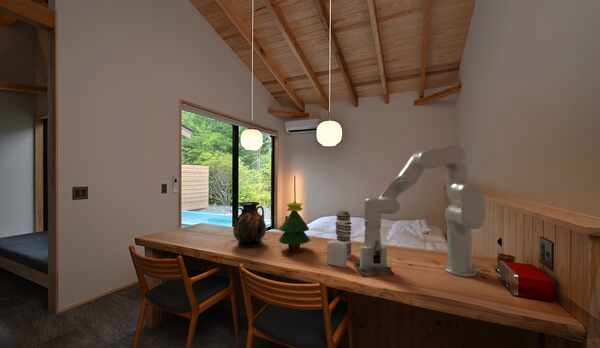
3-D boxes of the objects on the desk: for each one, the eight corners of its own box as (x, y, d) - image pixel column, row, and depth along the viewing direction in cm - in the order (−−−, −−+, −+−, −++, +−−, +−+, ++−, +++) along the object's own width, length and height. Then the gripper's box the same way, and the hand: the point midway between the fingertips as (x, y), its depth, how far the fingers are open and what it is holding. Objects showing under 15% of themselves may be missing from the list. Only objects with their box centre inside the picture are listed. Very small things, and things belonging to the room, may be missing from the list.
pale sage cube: (384, 266, 113) (384, 245, 113) (386, 268, 110) (386, 247, 110) (360, 266, 112) (359, 246, 112) (361, 269, 109) (361, 248, 109)
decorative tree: (274, 254, 134) (274, 202, 134) (283, 244, 153) (282, 199, 153) (307, 256, 131) (307, 203, 131) (311, 245, 150) (311, 199, 150)
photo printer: (347, 265, 117) (347, 241, 117) (345, 268, 114) (344, 243, 114) (329, 261, 123) (328, 238, 123) (325, 264, 119) (325, 240, 119)
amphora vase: (235, 252, 138) (235, 205, 138) (231, 242, 158) (230, 201, 158) (270, 247, 147) (270, 203, 147) (261, 238, 167) (261, 200, 167)
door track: (383, 265, 117) (383, 259, 117) (394, 275, 105) (394, 269, 105) (354, 265, 117) (354, 260, 117) (361, 276, 105) (361, 270, 105)
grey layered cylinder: (350, 252, 137) (350, 210, 137) (352, 258, 127) (352, 212, 127) (335, 252, 137) (334, 210, 137) (336, 257, 128) (335, 212, 128)
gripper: (359, 220, 119) (359, 253, 119) (371, 228, 102) (372, 266, 102) (373, 220, 120) (374, 253, 120) (388, 227, 102) (388, 266, 102)
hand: (373, 259), depth 111 cm, fingers open, 9 cm apart
